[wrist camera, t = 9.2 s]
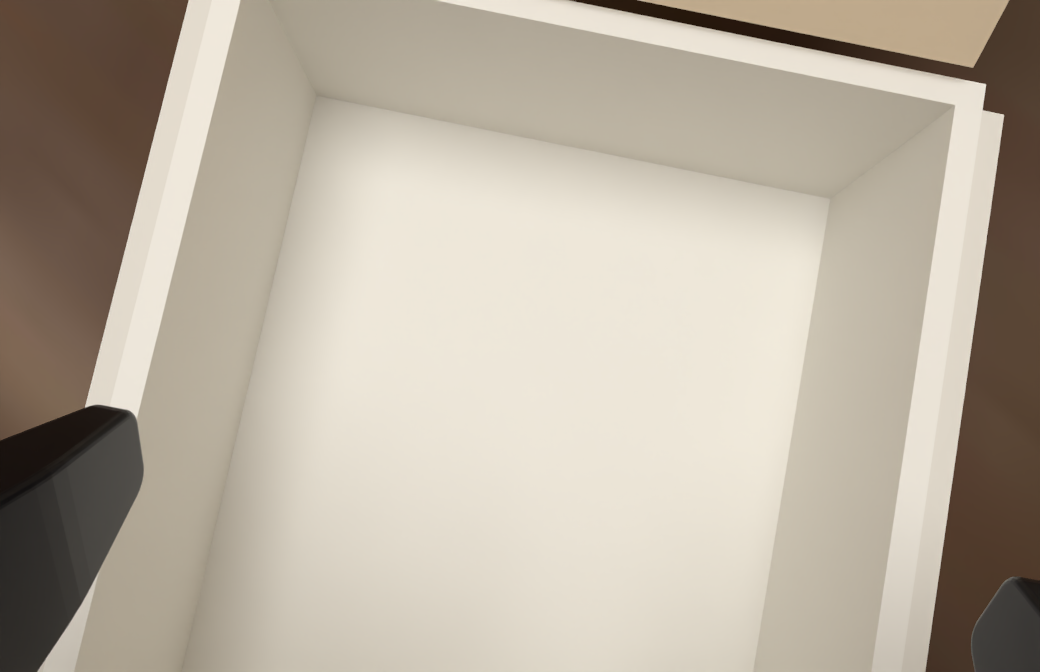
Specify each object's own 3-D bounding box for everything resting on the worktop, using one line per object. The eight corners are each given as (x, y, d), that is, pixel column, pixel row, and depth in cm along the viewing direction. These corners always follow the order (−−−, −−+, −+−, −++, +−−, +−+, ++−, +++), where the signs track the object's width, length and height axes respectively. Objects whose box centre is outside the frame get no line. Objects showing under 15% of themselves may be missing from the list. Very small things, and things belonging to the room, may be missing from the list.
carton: (754, 863, 22) (871, 1050, 15) (132, 738, 22) (-34, 869, 15) (861, 191, 24) (1007, 89, 17) (289, 77, 24) (206, -73, 17)
